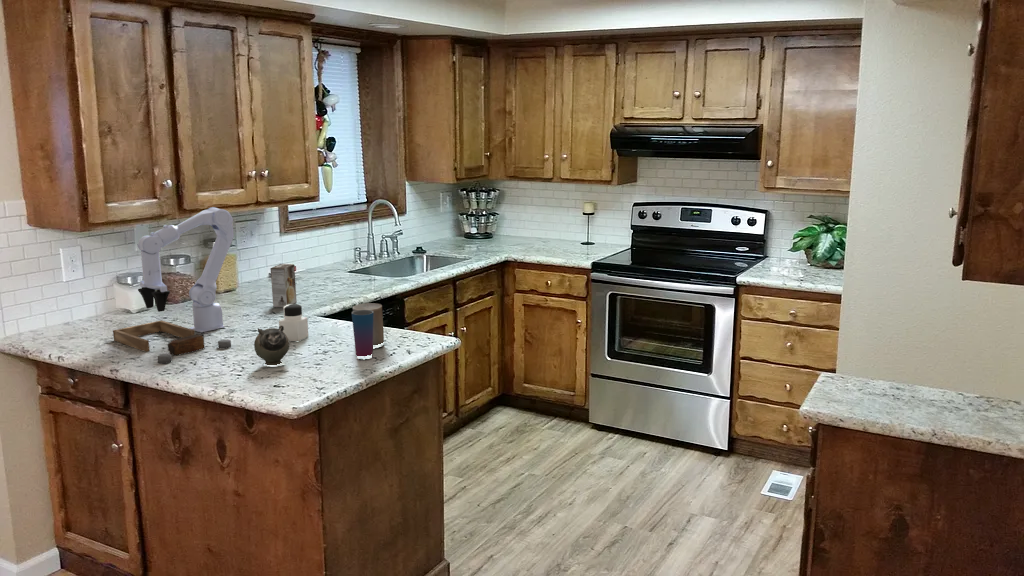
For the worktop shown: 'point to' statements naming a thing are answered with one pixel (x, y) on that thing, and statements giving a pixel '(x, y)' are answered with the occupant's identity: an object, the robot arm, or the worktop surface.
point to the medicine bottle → (294, 323)
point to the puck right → (224, 343)
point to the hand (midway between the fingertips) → (155, 309)
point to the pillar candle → (374, 320)
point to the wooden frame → (131, 333)
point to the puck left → (164, 358)
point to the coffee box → (283, 285)
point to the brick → (186, 344)
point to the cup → (363, 331)
